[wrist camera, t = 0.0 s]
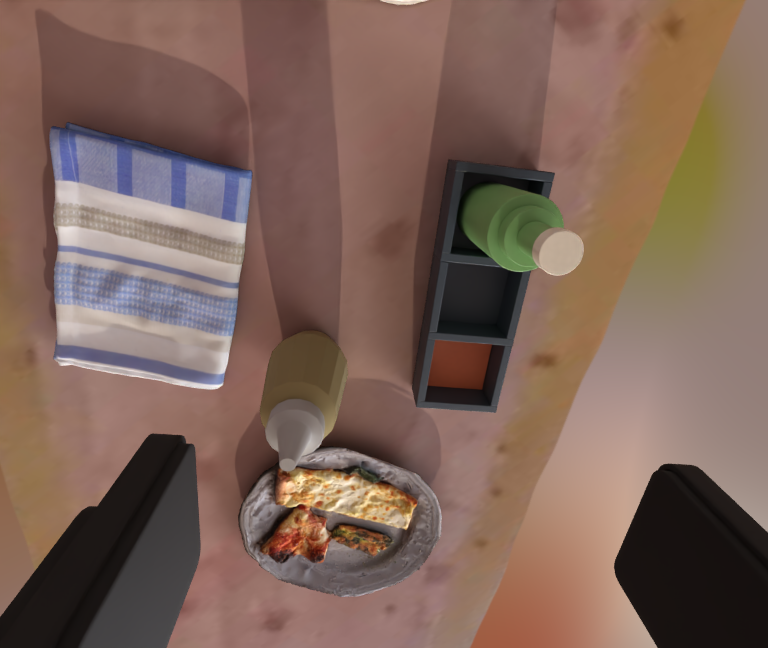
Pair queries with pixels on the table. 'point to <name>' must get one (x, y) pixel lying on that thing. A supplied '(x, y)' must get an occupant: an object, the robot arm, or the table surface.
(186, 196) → the dish towel
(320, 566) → the food plate
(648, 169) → the table surface
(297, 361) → the squeeze bottle
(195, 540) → the robot arm
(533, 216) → the bottle
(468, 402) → the tray
